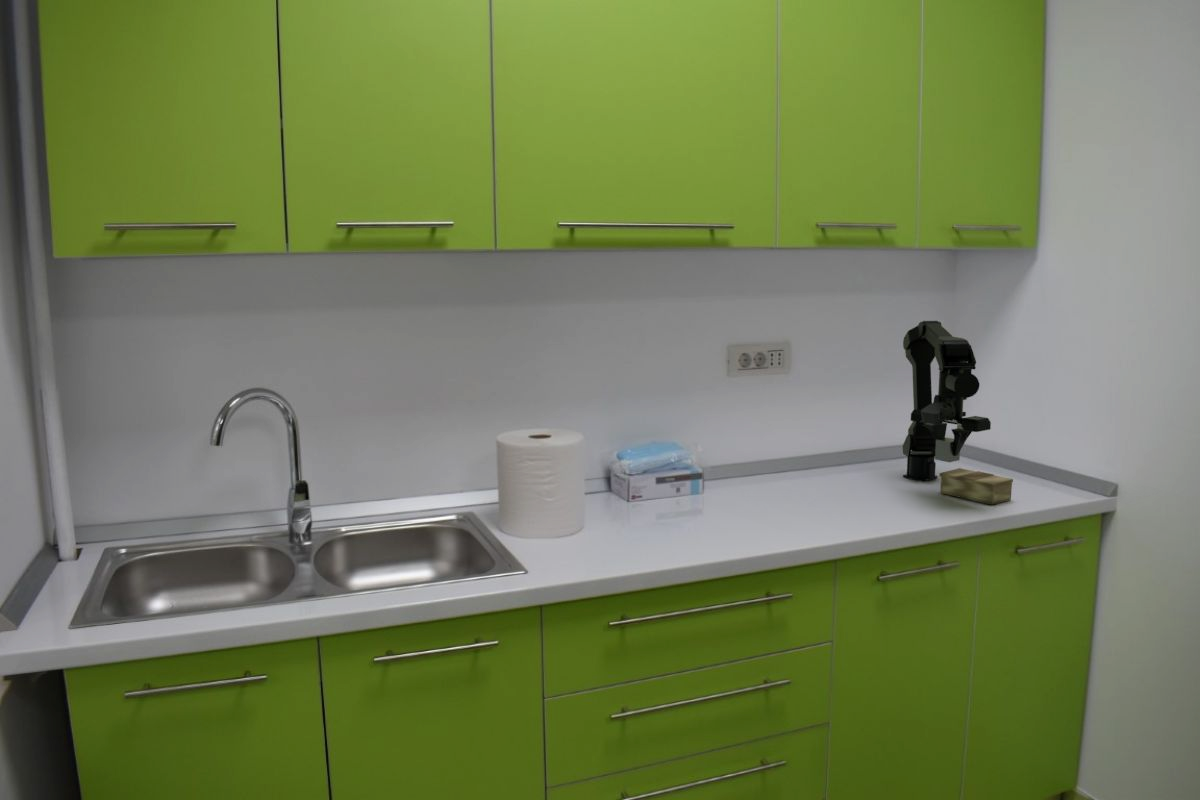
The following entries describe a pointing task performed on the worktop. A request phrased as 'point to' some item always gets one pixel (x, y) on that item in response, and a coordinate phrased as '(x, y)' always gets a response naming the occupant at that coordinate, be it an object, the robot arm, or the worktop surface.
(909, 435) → the robot arm
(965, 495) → the box
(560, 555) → the worktop surface
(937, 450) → the block
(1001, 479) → the lid
